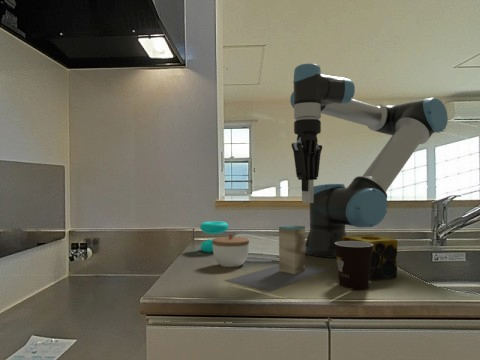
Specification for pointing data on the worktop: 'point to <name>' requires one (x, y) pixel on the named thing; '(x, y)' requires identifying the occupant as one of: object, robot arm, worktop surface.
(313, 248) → the robot arm
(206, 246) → the donuts
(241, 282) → the rubber mat
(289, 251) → the birch block
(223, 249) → the lidded jar
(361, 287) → the coffee mug
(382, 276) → the yellow patterned cube
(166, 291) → the worktop surface
